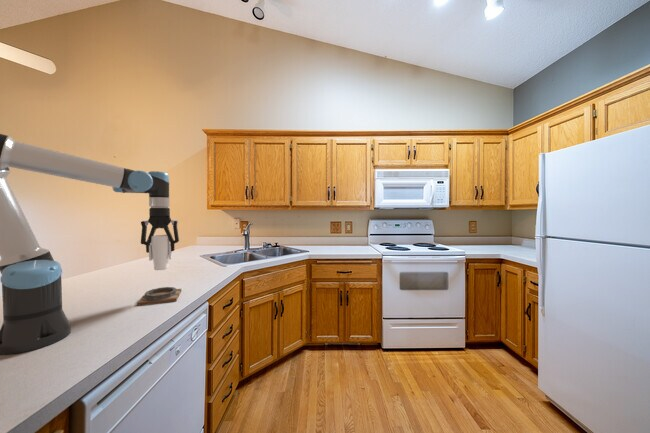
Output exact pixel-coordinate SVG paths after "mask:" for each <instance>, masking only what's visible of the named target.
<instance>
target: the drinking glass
mask: <svg viewBox="0 0 650 433" xmlns="http://www.w3.org/2000/svg"><path fill="white" fill-rule="evenodd" d="M169 244H171V243H170V241H169V239H168V236H167V234H156V235H155V234H154V236H151V244H150V245H151V247H152V254H153V260H152V262H153V270H154V271H164V270H167V269H168V268H169Z"/></svg>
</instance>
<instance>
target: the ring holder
mask: <svg viewBox="0 0 650 433" xmlns="http://www.w3.org/2000/svg"><path fill="white" fill-rule="evenodd" d="M181 293H182V288H176V287H173V286H164V287H158V288H152V289H150V290H146V292H145V293H144V295H143V296H142V297H141V298H140V299H139V300H138V301H137V303H136V305H137V306H138V307H139V306H145V305H146V306H147V305H155V304H164V303H165V304H166V303H173V302H177V301H178V300H179V299H178V298H179V297H180V295H181Z"/></svg>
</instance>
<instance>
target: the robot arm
mask: <svg viewBox="0 0 650 433" xmlns="http://www.w3.org/2000/svg"><path fill="white" fill-rule="evenodd" d="M10 168H13V169H17V170H24V171H29V172H32V173H33V172H34V173H40V174H44V175H49V176H50V175H51V176H54V177H55V176H56V177H60V178H64V179H69V180H70V179H71V180H75V181H76V180H77V181H80V182H82V181H83V182H86V183H92V184H96V185H102V186H106V187H112V190H113V191H114V192H115V193H122V194H127V193H128V194H148V206H149V209H148V210H149V213H148V214H149V217H148V220H142V221H140V225H141V233H140V234H141V236H140V244H141V245H145V251H146V252H145V253H148V260H149V261H150V262H151V261H153V254H152V247H151V236H154V235H155V233H156V231H157V229H163V231H164V232H165V235H167V236H168V239H169V241H170V244H169V258H168V260H172V259H173V252H174V251H175V244H177V243H179V241H180V238H179V230H178V223H179V221H178V220H174V219H171V214H170V213H171V211H170V210H171V209H170V208H169V207H171V206H170V205H171V204H170V178H169V177H170V176H169V174H168V172H165V171H155V170H154V171H152V170H151V171H148V172H147V171H145V170H144V171H143V170H134V169H129V168H125V167H123V166H117V165H113V164H110V163H106V162H101V161H98V160H93V159H89V158H85V157H82V156H81V157H80V156H77V155H72V154H70V153H69V154H68V153H65V152H60V151H56V150H53V149H52V150H51V149H49V148H44V147H42V146H41V147H40V146H36V145H32V144H27V143H24V142H20V141H16V140H14V138H12V137H11V136H10V135H7V134H2V133H0V274H1V277H0V283H1V293H2V315H3V316H2V318H3V321H2V324H1V326H0V355H12V354H14V355H15V354H19V353H26V352H30V351H33V350H37V349H40V348H44V347H47V346H49V345H52V344H54V343H57V342H59V341H62V340H63V339H65V338H66V337H68V336H69V335H70V334H71V332H72V328H71V326H72V325H71V323H70V320H69V319H68V317H67V316H66V313H65V312H64V310H63V292H62V291H63V286H62V285H63V284H62V274H63V269H62V266H61V263H60V262H58V261H55V260H54V257H53V255H52V253H51V252H50V249H46V248H42V247H41V245H40V243H39V241H38V239H37V238H36V235H35V234H34V232H33V230H32V228H31V226H30V223H29V222H28V219H27V218H26V216H25V214H24V211H23V209H22V208H21V204H19V201H18V200H17V197H16V195H15V193H14V191H13V189H12V187H11V185H10V183H9V181H8V179H7V177H8V176H9V174H10V173H11V170H10ZM170 223H171V225H172V230H173V235H172V232H171V231H170V228H169V225H170ZM149 224H150V225H151V228H150V233H149V235H148V236H147V230H148V225H149ZM173 237H174V238H173ZM146 238H147V239H146Z"/></svg>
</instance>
